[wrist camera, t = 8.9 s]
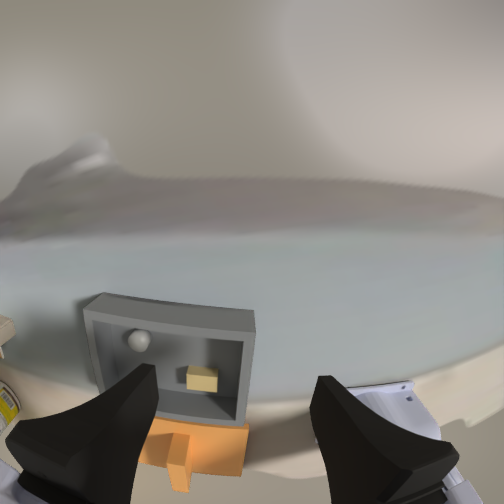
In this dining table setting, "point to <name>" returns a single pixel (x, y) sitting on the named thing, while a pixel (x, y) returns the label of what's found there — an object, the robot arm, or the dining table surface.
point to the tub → (176, 354)
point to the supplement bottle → (7, 406)
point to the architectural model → (5, 331)
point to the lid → (194, 449)
